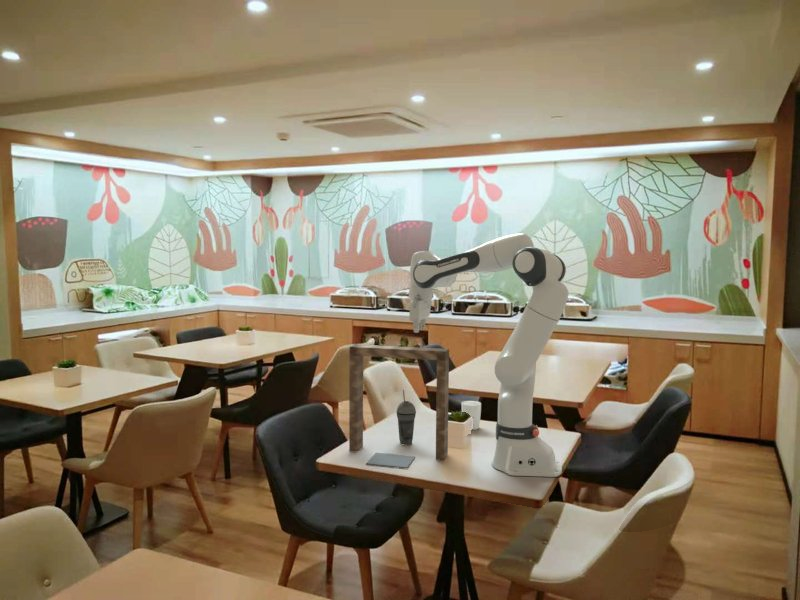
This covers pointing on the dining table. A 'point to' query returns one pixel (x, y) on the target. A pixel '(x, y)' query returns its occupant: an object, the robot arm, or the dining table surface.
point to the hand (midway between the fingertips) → (419, 330)
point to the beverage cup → (406, 421)
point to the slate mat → (391, 460)
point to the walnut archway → (397, 352)
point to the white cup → (472, 411)
